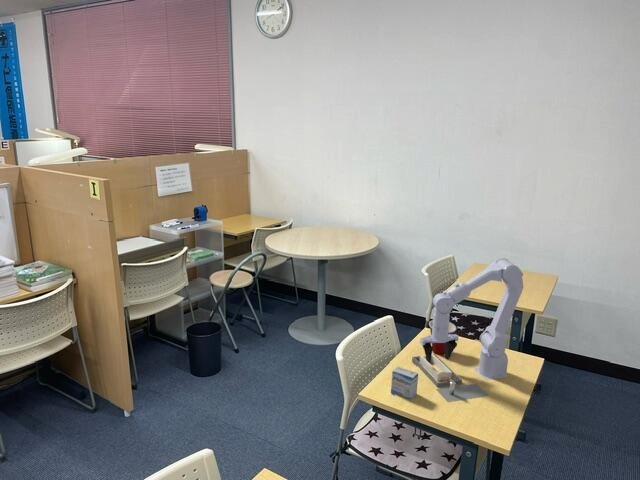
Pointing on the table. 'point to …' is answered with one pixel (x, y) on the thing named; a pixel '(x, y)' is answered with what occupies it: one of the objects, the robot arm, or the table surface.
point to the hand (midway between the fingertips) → (437, 360)
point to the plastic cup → (440, 347)
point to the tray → (438, 384)
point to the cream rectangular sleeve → (442, 376)
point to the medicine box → (404, 383)
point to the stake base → (461, 392)
